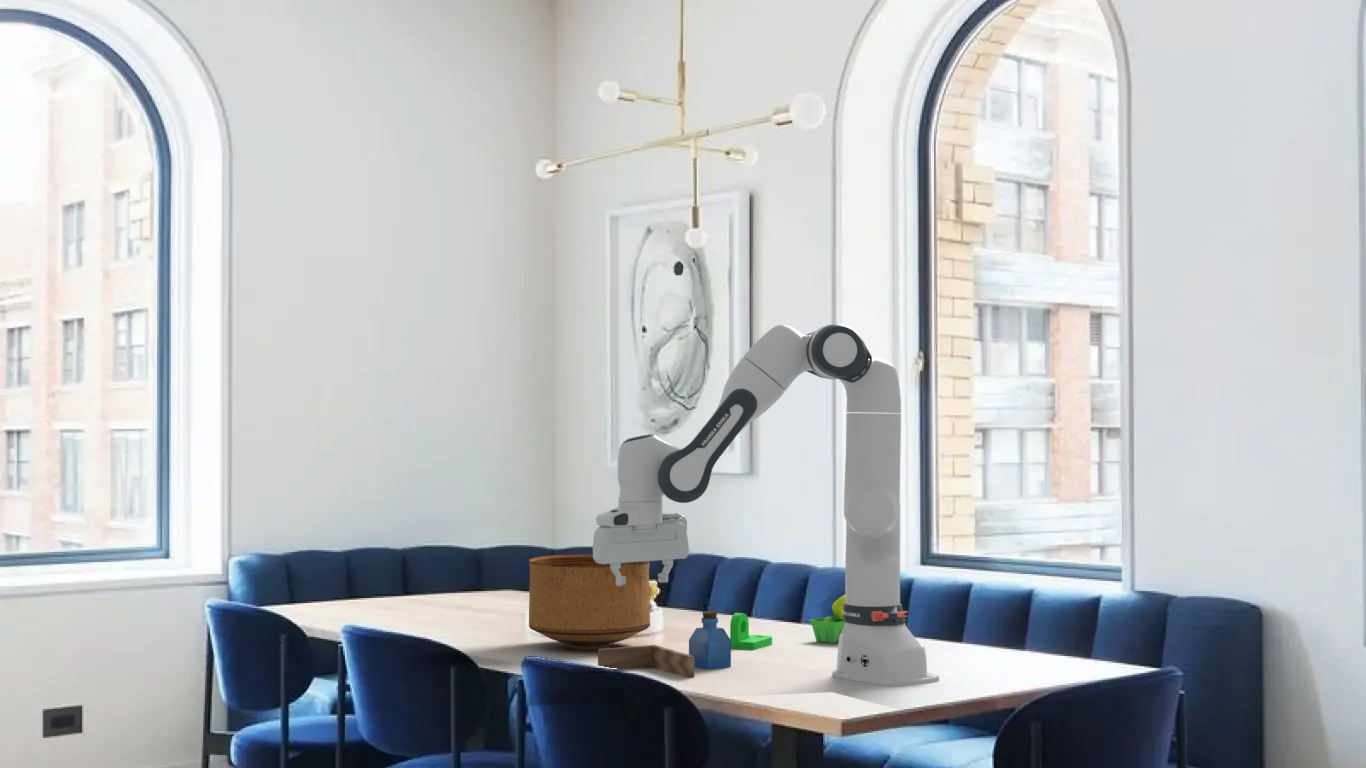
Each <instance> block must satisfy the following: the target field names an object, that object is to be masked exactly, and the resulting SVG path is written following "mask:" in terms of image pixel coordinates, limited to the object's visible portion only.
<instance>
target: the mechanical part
mask: <svg viewBox="0 0 1366 768" xmlns="http://www.w3.org/2000/svg"><path fill="white" fill-rule="evenodd" d="M729 625H730V628H729V629H730V631H729V632H730V633H729V635H730V637H729V638H730V640H731V649H732V648H736V649H738V650H747V649H748V650H747V651H749V650H750V651H755V650H756V651H757V650H760V649H763V648H766V646H767V647H771V646H773V636H772V635H765V634H750V632H749V631H750V629H749V628H750V627H749V625H750V623H749V618H748V615H747V614H746V613H744V612H743V613H741V612H734V614H732V617H731V618H730V624H729ZM749 634H750V635H749ZM770 645H771V646H770ZM762 647H763V648H762ZM759 648H760V649H759Z"/></svg>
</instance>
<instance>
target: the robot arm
mask: <svg viewBox="0 0 1366 768" xmlns="http://www.w3.org/2000/svg"><path fill="white" fill-rule="evenodd" d="M805 372H807V373H809V374H812V375H814V376H816V377H819V378H822V379H827V380H839V381H840V382H841V383H842V385H843V386H844V388H845V389H844V390H845V394H846V410H845V411H846V419H845V420H846V422H845V435H846V436H845V463H844V464H845V465H844V467H845V470H844V488H843V489H844V494H843V495H844V498H843V515H844V519H845V524H846V527H845V563H844V564H845V565H844V567H845V571H844V572H845V573H844V574H845V575H844V576H845V581H844V582H845V583H844V584H845V585H844V586H845V587H844V588H845V590H844V591H845V593H844V594H845V604H844V605H843V621H844V622H845V626H844V629H843V631H842V633H841V634H840V636H839V642H838V647H837V648H838V649H837V660H836V669H835V670H833V671H832V674H831V676H832V677H833V678H837V679H842V678H843V679H844V680H848V679H849V681H854V680H856V681H855V682H860V681H861V683H867V684H872V685H878V686H911V685H922V684H930V683H937V682H940V676H939V675H937V674H936V673H935V674H934V673H932V672H929V671H928V666H927V665H928V664H927V654H926V650H925V649H926V648H925V646H923V645H921V643H919V641H918V639H916V637H915V636H914V635H913V633H912V632H911V631H910V629H909V628H908V627H907V625H906V622H907V619H906V618H907V617H908V615H906V614H907V613H908V611H907V610H904V608H903V605H902V603H901V502H900V499H901V497H900V496H901V495H900V494H901V493H900V492H901V491H900V490H901V449H902V448H901V442H902V441H901V437H902V436H901V435H902V430H901V429H902V404H901V403H902V402H901V401H902V400H901V389H900V381H899V377H898V371H897V369H896V367H895V366H894V365H893V364H892V363H891V362H889V361H888V360H886V359H883V358H877V357H872V354H871V353H870V351H869V348H867V346H866V343H865V342H864V340H863V338H862V336H861V335H860V334H859V333H858V331H857V330H856V329H855V328H853V327H852V326H849V325H847V324H844V323H831V324H827V325H824V326H821V327H819V328H818V329H816V330H815V331H813V332H809V333H807V334H803V333H802V332H800V331H799V330H797V329H795V328H794V327H792V326H789V325H785V324H777V325H775V326H772V328H771V329H769V330H767V331H766V333H764V334H763V335H762V336H761V337H760V338H759V339H758V340H757V341H756V342H755V343H754V344H753V345H752V346H751V347H750V348H749V349H748V350H747V352H746V353H745V354H744V355H743V356H742V357H741V359H739V360H738V362H737V364H736V365H735V367H734V368H733V369H732V372H731V374H730V375H729V377H728V379H727V380H726V382H725V385H724V387H723V391H722V395H721V399H720V401H719V403H718V406H717V407H716V409H715V410H714V413H712V415H711V417H710V418H709V419H708V421H706V423H705V424H704V426H703V427H702V428H701V429H700V431H699V432H698V433H697V434H696V436H694V438H693V439H692V440H691V441H690V442H689V444H687V445H686V446H684V447H683V448H681V447H677V446H675V445H672V444H671V443H669V442H666V441H665V440H663V439H661V438H660V437H659V436H657V435H655V434H645V435H639V436H635V437H631V438H630V437H629V438H628V439H626V440H625V441H623V442H622V443H621V444H620V447H619V450H618V457H617V481H618V486H619V497H618V506H617V507H615V508H612V509H609V510H607V511H605V512H603V513H602V512H601V513H599V514H598V515H597V516H596V517H595V522H596V525H597V526H599V527H596V529H595V531H594V533H593V541H592V554H593V559H594V560H595V562H596V563H598V564H610V569H611V570H612V572H613V574H614V575H615V577H616V585H617V586H624V585H626V577H624V576H622V575H621V573H620V571H619V570H618V569H620V568H621V563H628V562H642V561H650V562H656V561H662V565H664V567H663V568H662V571H661V573H660V572H659V573H658V574H657V577H658V579H657V581H658V583H661V584H662V583H669V574H670V572H671V570H672V568H673V566H674V560H680V559H681V560H682V559H683V560H685V559H687V558H688V556H689V554H690V549H689V548H690V546H689V539H688V533H687V530H688V521H687V519H686V517H685V516H684V515H682V514H681V513H679V512H678V513H677V512H676V513H663V496H665V497H666V498H668V499H669V500H671V501H673V502H676V503H680V504H688V503H691V502H692V503H693V502H694V501H697V500H698V499H699V498H701V497H702V496H703V495H704V493H706V491H707V489H708V486H709V484H710V480H711V475H712V471H713V469H714V467H715V465H716V464H717V462H718V460H719V459H720V457H721V456H723V454H724V452H725V451H726V450H727V449H728V447H729V446H730V445H731V444H732V443H733V441H734V440H735V438H736V437H737V436H738V435H739V434H740V433H741V431H743V429H745V428H746V427H747V426H748V425H749V424H751V423H752V422H754V421H755V420H757V418H759V417H761V416H762V415H763V414H764V413H766V412H767V411H768V410H769V409H770V408H772V406H773V405H774V404H775V403H776V402H777V401H778V400H779V399H780V398H781V397H782V396H783V395H784V393H785V391H787V390H788V388H789V387H790V386H791V384H792V383H793V382H794V381H795V379H797V378H798V377H799V376H800V375H802V374H803V373H805Z"/></svg>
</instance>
